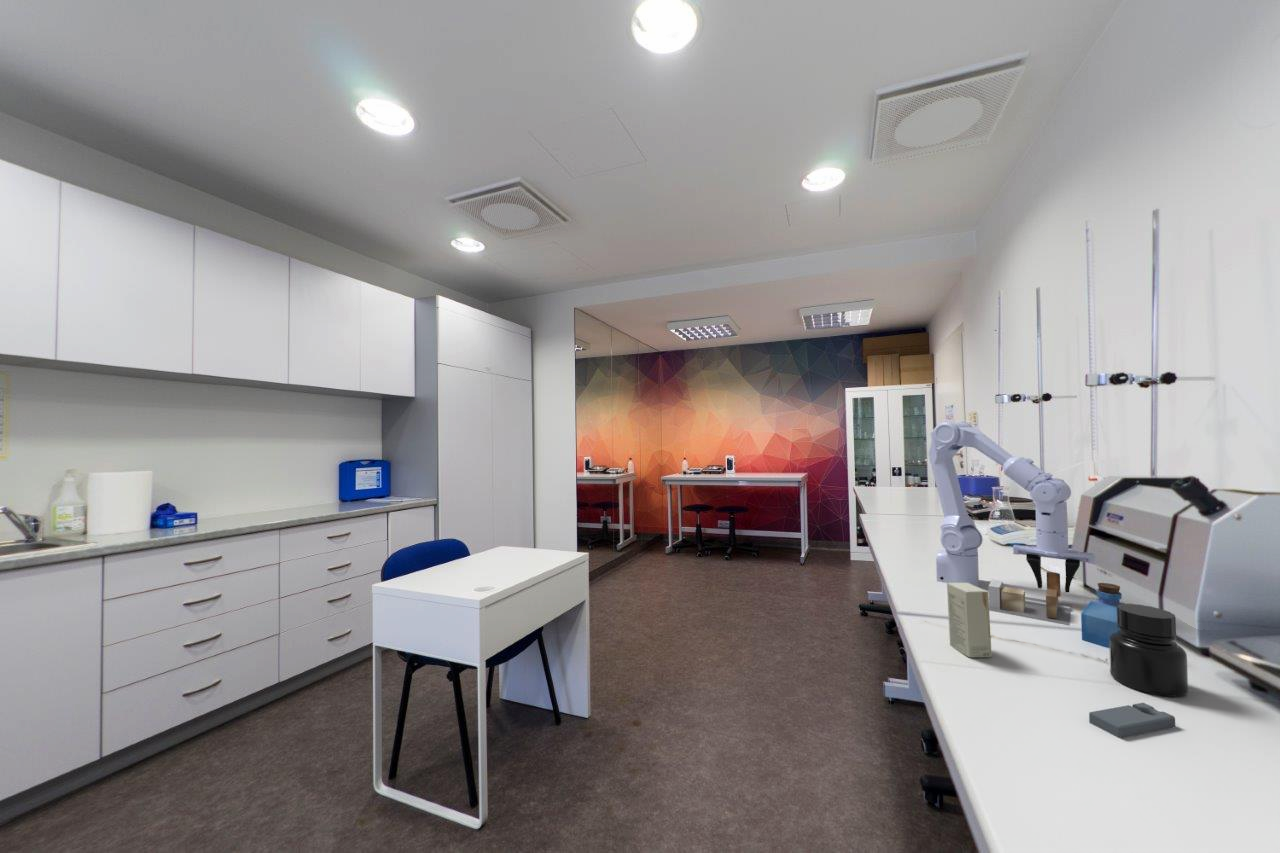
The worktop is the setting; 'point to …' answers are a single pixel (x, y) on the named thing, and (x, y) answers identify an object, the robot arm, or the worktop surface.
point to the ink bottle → (1148, 651)
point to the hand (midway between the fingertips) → (1053, 589)
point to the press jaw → (1052, 594)
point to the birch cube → (1013, 599)
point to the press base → (1028, 606)
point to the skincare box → (969, 619)
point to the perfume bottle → (1101, 615)
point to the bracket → (1131, 720)
